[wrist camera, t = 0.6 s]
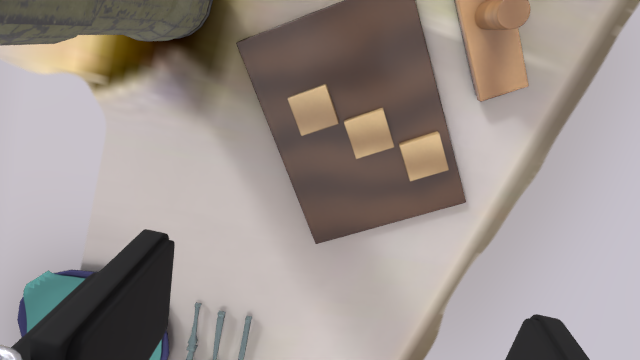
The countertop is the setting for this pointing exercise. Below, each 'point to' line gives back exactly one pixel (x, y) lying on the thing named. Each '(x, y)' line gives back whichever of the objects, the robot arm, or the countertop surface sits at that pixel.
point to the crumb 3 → (423, 156)
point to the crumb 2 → (369, 133)
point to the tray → (353, 112)
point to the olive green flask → (99, 19)
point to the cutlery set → (57, 286)
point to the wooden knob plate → (494, 44)
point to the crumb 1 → (313, 110)
